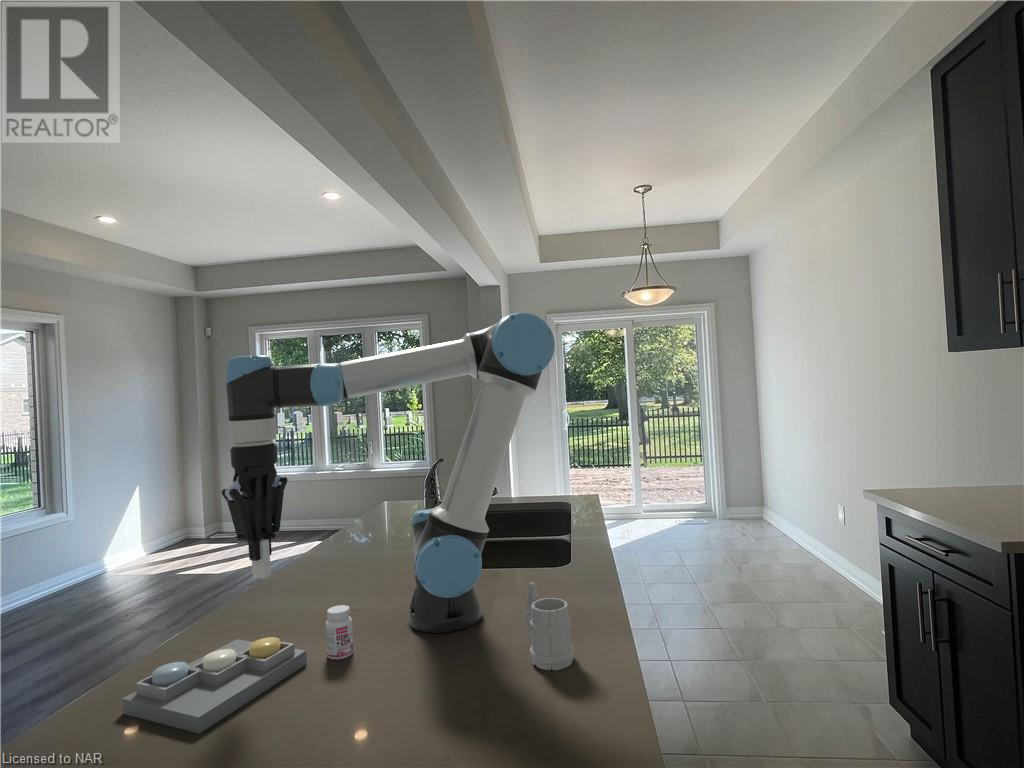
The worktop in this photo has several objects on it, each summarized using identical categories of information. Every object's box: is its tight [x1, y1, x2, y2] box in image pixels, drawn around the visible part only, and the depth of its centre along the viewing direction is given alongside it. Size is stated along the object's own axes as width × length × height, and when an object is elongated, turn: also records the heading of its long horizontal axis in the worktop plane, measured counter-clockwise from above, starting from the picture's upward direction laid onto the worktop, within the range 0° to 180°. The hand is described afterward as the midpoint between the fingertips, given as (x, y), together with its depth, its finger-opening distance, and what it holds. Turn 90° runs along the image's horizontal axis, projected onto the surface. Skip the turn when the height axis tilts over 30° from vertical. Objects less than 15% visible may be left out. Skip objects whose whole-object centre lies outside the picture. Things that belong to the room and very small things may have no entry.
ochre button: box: [249, 636, 281, 659], centre depth 103 cm, size 5×5×2 cm
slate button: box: [151, 661, 188, 688], centre depth 95 cm, size 5×5×2 cm
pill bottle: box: [325, 604, 354, 661], centre depth 109 cm, size 5×5×8 cm
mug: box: [525, 581, 575, 671], centre depth 104 cm, size 8×12×12 cm, turn 28°
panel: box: [121, 638, 308, 734], centre depth 99 cm, size 17×22×4 cm
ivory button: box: [203, 649, 236, 673], centre depth 99 cm, size 5×5×2 cm
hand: (261, 576), depth 104 cm, fingers closed
